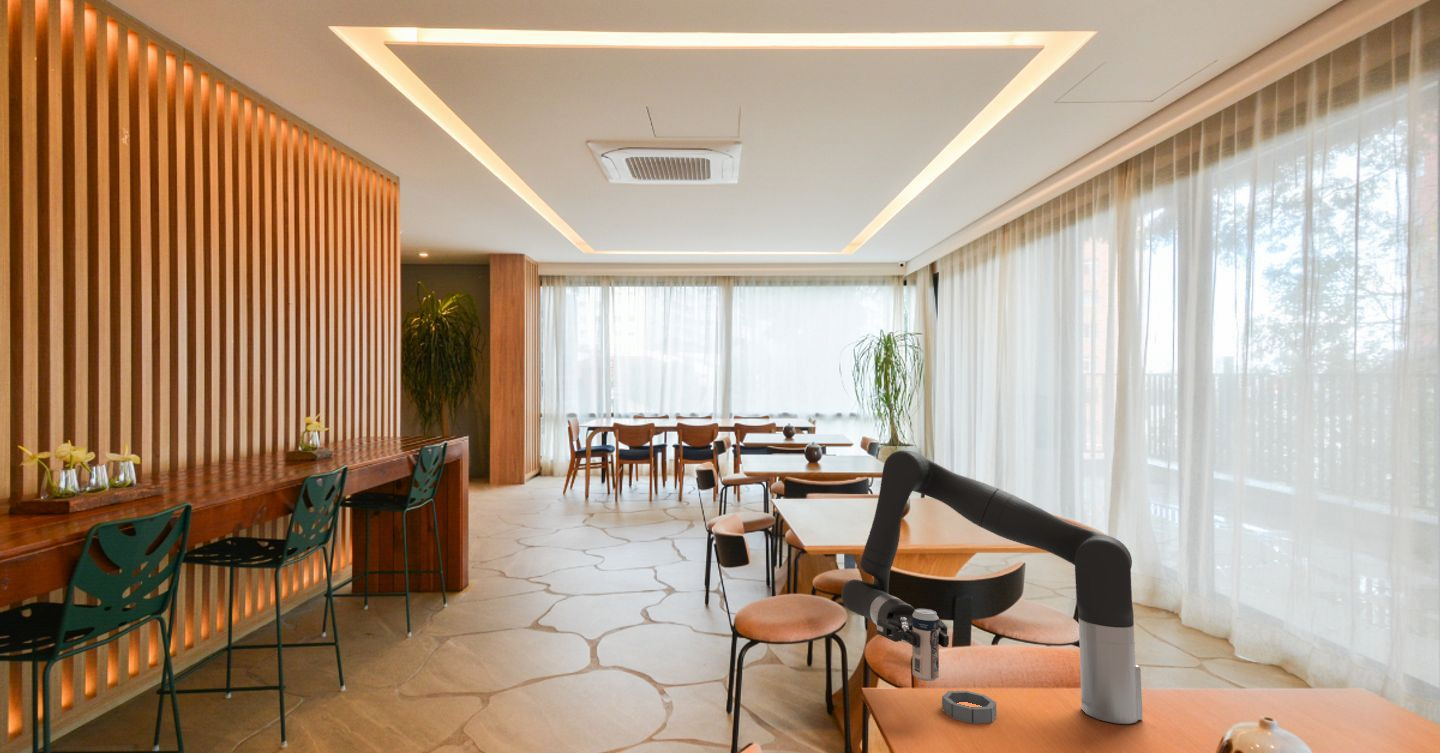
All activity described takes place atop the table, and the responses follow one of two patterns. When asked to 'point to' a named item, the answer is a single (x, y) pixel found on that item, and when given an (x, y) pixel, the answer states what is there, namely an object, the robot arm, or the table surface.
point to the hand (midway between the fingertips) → (932, 641)
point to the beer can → (926, 645)
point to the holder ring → (969, 713)
